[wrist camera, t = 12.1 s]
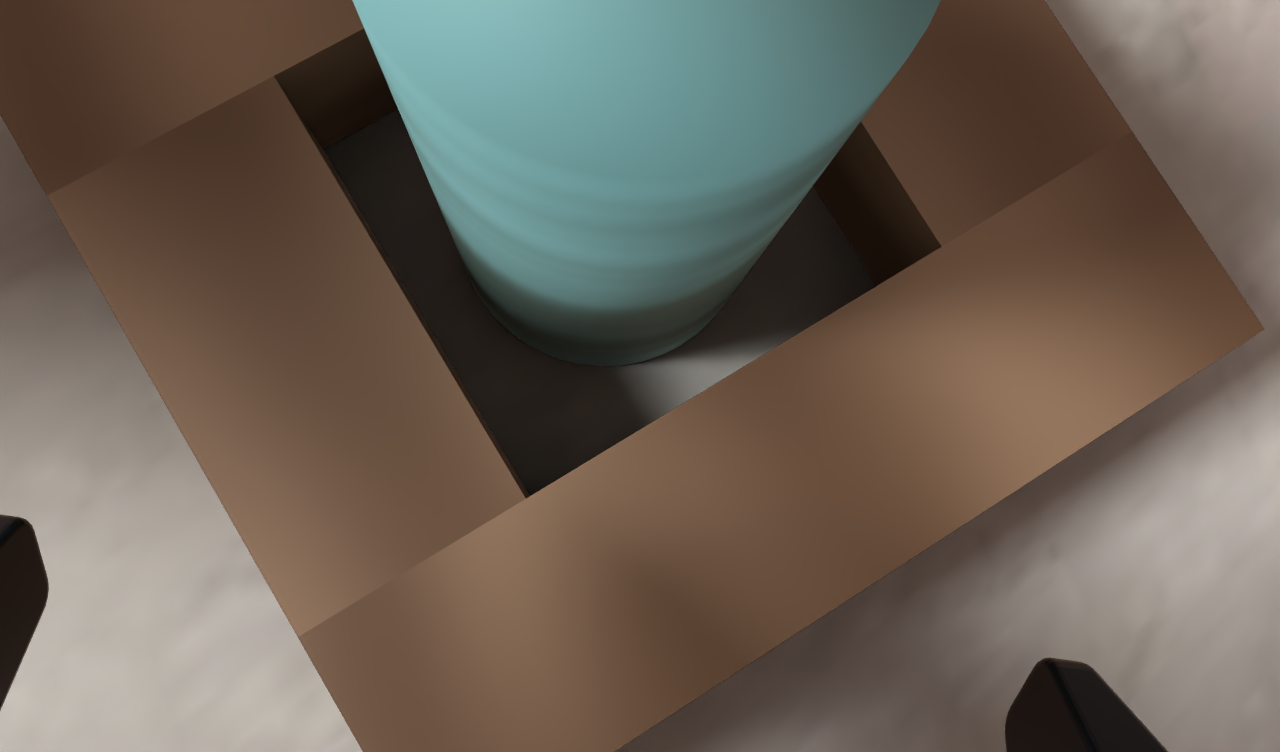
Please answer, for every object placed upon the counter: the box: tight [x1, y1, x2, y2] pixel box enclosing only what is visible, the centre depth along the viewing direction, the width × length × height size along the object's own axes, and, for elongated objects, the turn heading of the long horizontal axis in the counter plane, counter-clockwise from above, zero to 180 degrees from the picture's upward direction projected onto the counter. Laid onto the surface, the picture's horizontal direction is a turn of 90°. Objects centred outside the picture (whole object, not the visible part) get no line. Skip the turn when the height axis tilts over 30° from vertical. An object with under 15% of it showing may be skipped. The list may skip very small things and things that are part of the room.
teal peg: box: [352, 0, 941, 366], centre depth 13 cm, size 5×5×10 cm
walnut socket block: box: [0, 0, 1264, 752], centre depth 16 cm, size 14×14×3 cm
